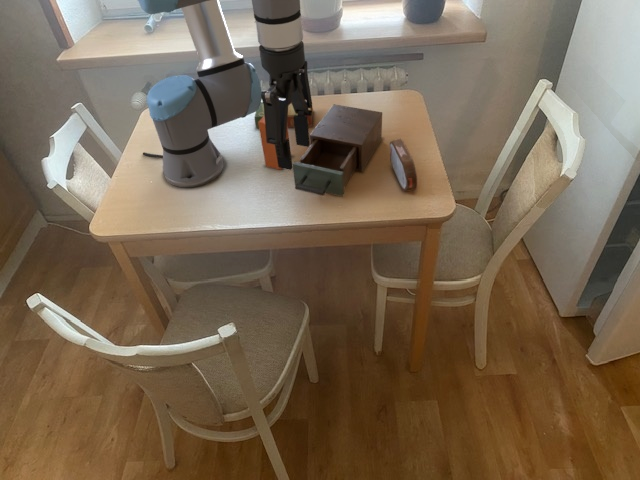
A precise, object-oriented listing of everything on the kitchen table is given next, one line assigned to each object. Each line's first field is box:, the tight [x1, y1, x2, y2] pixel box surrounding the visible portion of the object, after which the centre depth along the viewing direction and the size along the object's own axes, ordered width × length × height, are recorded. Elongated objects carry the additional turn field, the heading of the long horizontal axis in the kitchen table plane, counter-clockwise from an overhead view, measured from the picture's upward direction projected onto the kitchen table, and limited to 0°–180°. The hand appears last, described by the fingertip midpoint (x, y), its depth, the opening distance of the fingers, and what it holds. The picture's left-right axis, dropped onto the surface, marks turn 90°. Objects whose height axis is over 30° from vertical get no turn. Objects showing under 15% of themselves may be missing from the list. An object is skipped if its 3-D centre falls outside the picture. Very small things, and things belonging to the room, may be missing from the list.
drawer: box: [292, 139, 359, 197], centre depth 113 cm, size 19×12×6 cm, turn 156°
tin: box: [389, 138, 418, 192], centre depth 112 cm, size 15×3×8 cm, turn 9°
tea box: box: [258, 116, 292, 171], centre depth 119 cm, size 6×4×13 cm
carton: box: [254, 100, 314, 130], centre depth 136 cm, size 8×16×4 cm, turn 89°
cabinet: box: [309, 104, 383, 173], centre depth 122 cm, size 16×14×8 cm
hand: (294, 155), depth 95 cm, fingers open, 7 cm apart
